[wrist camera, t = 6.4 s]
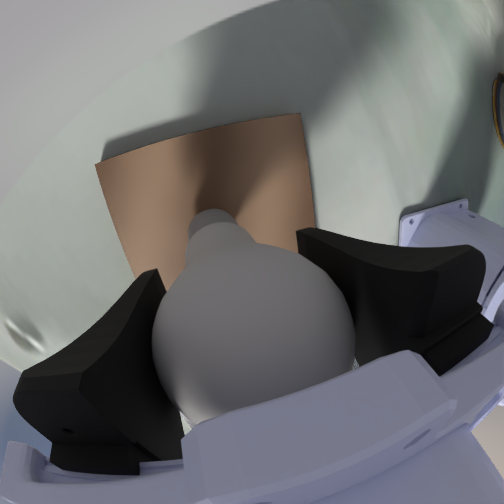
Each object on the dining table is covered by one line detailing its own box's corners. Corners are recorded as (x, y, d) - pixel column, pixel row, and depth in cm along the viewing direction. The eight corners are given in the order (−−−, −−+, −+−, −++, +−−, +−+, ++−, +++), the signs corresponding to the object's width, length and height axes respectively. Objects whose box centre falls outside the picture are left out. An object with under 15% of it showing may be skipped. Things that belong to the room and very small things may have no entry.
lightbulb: (135, 190, 12) (106, 427, 3) (255, 154, 13) (428, 313, 4) (174, 283, 16) (210, 474, 7) (271, 252, 17) (371, 416, 8)
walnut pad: (293, 113, 14) (300, 113, 13) (313, 278, 19) (319, 285, 18) (100, 161, 13) (94, 164, 12) (160, 320, 18) (160, 330, 17)
